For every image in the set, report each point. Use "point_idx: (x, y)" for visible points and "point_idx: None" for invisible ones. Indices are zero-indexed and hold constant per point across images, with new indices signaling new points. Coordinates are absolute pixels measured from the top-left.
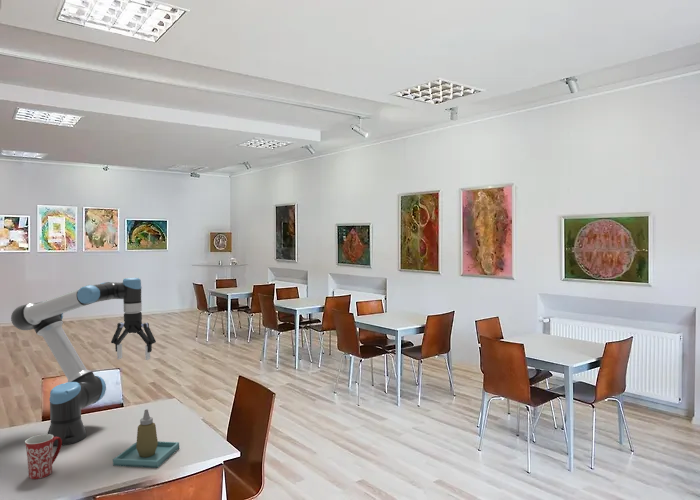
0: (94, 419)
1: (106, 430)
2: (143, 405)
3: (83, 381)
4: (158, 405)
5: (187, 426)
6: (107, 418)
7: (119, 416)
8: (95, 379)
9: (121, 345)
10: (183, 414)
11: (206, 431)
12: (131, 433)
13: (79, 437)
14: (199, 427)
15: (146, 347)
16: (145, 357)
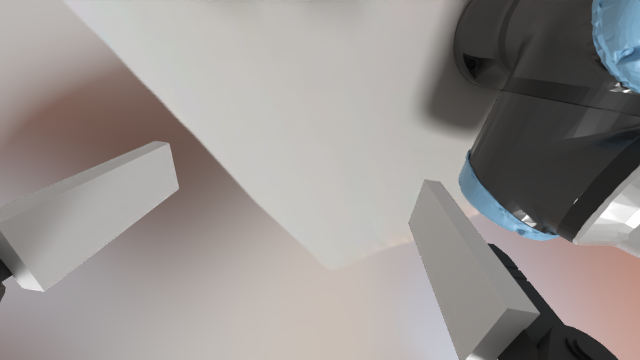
0: None
1: (408, 100)
2: (374, 246)
3: (597, 141)
4: (342, 243)
5: (219, 121)
6: (432, 179)
7: (406, 190)
8: (530, 190)
9: (456, 332)
10: (265, 192)
11: (158, 88)
12: (333, 77)
13: (467, 12)
14: (189, 114)
15: (16, 203)
16: (152, 151)
